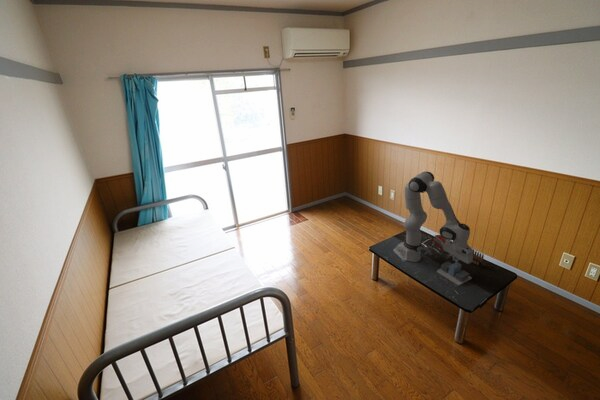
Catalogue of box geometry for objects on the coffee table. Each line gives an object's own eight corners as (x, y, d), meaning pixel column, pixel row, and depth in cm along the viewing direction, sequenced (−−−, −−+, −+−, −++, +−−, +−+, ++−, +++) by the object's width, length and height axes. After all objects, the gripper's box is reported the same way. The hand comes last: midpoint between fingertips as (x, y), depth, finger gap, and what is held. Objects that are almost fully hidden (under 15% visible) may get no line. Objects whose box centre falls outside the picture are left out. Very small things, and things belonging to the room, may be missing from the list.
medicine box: (453, 251, 232) (454, 243, 229) (444, 252, 231) (445, 244, 228) (441, 241, 246) (442, 233, 242) (433, 242, 245) (434, 235, 241)
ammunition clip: (466, 260, 220) (469, 248, 215) (468, 260, 220) (471, 247, 215) (480, 268, 211) (483, 255, 206) (482, 267, 212) (485, 254, 207)
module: (447, 273, 205) (449, 265, 202) (455, 269, 209) (456, 261, 206) (452, 276, 202) (454, 268, 199) (460, 272, 205) (461, 264, 202)
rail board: (436, 271, 211) (437, 265, 208) (449, 265, 216) (450, 259, 214) (458, 285, 196) (460, 279, 194) (471, 278, 202) (473, 272, 199)
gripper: (443, 239, 203) (439, 255, 209) (470, 254, 186) (465, 270, 192) (448, 237, 205) (445, 252, 211) (476, 251, 189) (471, 267, 195)
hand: (455, 261), depth 202 cm, fingers closed
